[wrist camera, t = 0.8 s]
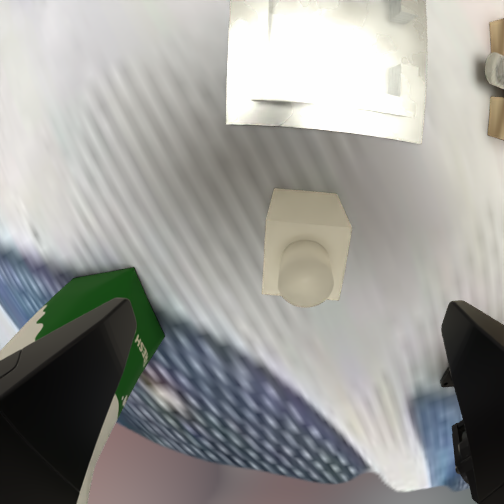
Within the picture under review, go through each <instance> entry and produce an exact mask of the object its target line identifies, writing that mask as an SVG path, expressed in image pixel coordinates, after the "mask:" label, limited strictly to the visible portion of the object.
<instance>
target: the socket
mask: <svg viewBox="0 0 504 504" xmlns="http://www.w3.org/2000/svg"><path fill="white" fill-rule="evenodd" d="M426 78H427V19H426V1H425V0H230V15H229V39H228V67H227V102H226V124H238V125H265V126H283V127H297V128H309V129H320V130H330V131H339V132H347V133H355V134H362V135H369V136H376V137H383V138H389V139H395V140H401V141H406V142H412V143H417V144H421V143H422V134H423V124H424V112H425V98H426Z"/></svg>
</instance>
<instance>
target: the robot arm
mask: <svg viewBox="0 0 504 504" xmlns="http://www.w3.org/2000/svg"><path fill="white" fill-rule="evenodd" d="M136 328H137V322H136V318H135V315H134V312H133V308H132V305H131V302H130V300H129V299H127V298H114V299H112V300H110V301H108V302H106V303H104V304H103V305H101V306H99V307H97V308H95V309H93V310H91V311H89V312H88V313H86V314H84V315H82V316H80V317H78V318H77V319H75V320H73V321H71V322H69V323H67V324H65V325H64V326H62V327H60V328H58V329H56V330H55V331H53V332H51V333H49V334H47V335H45V336H44V337H42V338H40V339H38V340H36V341H35V342H33V343H31V344H29V345H27V346H26V347H24V348H23V349H20V350H18V351H17V352H15V353H13V354H11V355H9V356H7V357H6V358H4V359H2V360H0V504H77V501H78V497H79V494H80V490H81V487H82V484H83V481H84V478H85V475H86V472H87V469H88V466H89V463H90V460H91V457H92V454H93V451H94V448H95V446H96V443H97V440H98V437H99V435H100V432H101V429H102V426H103V424H104V421H105V418H106V416H107V413H108V410H109V408H110V405H111V403H112V400H113V397H114V395H115V392H116V390H117V387H118V385H119V382H120V380H121V377H122V375H123V372H124V369H125V366H126V362H127V359H128V355H129V352H130V349H131V345H132V342H133V339H134V335H135V332H136ZM441 331H442V336H443V341H444V345H445V349H446V354H447V359H448V364H449V367H448V369H447V371H446V373H445V375H444V376H443V378H442V380H441V382H440V383H441V386H442V387H453V386H454V388H455V392H456V395H457V399H458V402H459V406H460V410H461V414H462V418H463V420H462V421H460V422H459V423H456V424H454V425H453V426H452V432H453V434H452V438H453V446H454V456H455V465H456V468H455V469H456V472H457V473H458V474H461V476H462V478H463V479H464V481H465V482H466V483H468V484H469V486H470V490H471V495H472V499H473V500H474V501H476V502H477V503H478V504H504V325H503V324H501V323H499V322H498V321H496V320H495V319H493V318H491V317H490V316H488V315H486V314H485V313H483V312H482V311H480V310H478V309H477V308H475V307H473V306H472V305H470V304H468V303H467V302H465V301H462V300H460V301H451V302H450V303H449V305H448V308H447V311H446V314H445V317H444V320H443V323H442V328H441Z"/></svg>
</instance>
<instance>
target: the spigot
mask: <svg viewBox="0 0 504 504" xmlns="http://www.w3.org/2000/svg"><path fill="white" fill-rule="evenodd" d="M351 231H352V227H351V224H350V222H349V220H348V217H347V215H346V213H345V211H344V208H343V206H342V204H341V202H340V200H339V197H338V195H337V194H335V193H325V192H314V191H303V190H291V189H278V188H274V190H273V194H272V198H271V202H270V206H269V210H268V214H267V218H266V226H265V246H264V264H263V283H262V294H265V295H276V296H282V297H283V298H284V299H285V300H286V301H287V302H288V303H290V304H292V305H294V306H298V307H313V306H317V305H319V304H321V303H322V302H324V301H325V300H339V298H340V293H341V288H342V283H343V278H344V272H345V267H346V261H347V256H348V250H349V244H350V238H351Z"/></svg>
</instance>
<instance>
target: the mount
mask: <svg viewBox="0 0 504 504" xmlns="http://www.w3.org/2000/svg"><path fill="white" fill-rule="evenodd" d="M490 35H491V53H493V52H496V53H499V54H501V55H503V56H504V18H503V19H500V20H496V21H493V22H490ZM488 135H489V136H492V137H495V138H498V139H501V140H504V97H491V99H490V114H489V126H488Z"/></svg>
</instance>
